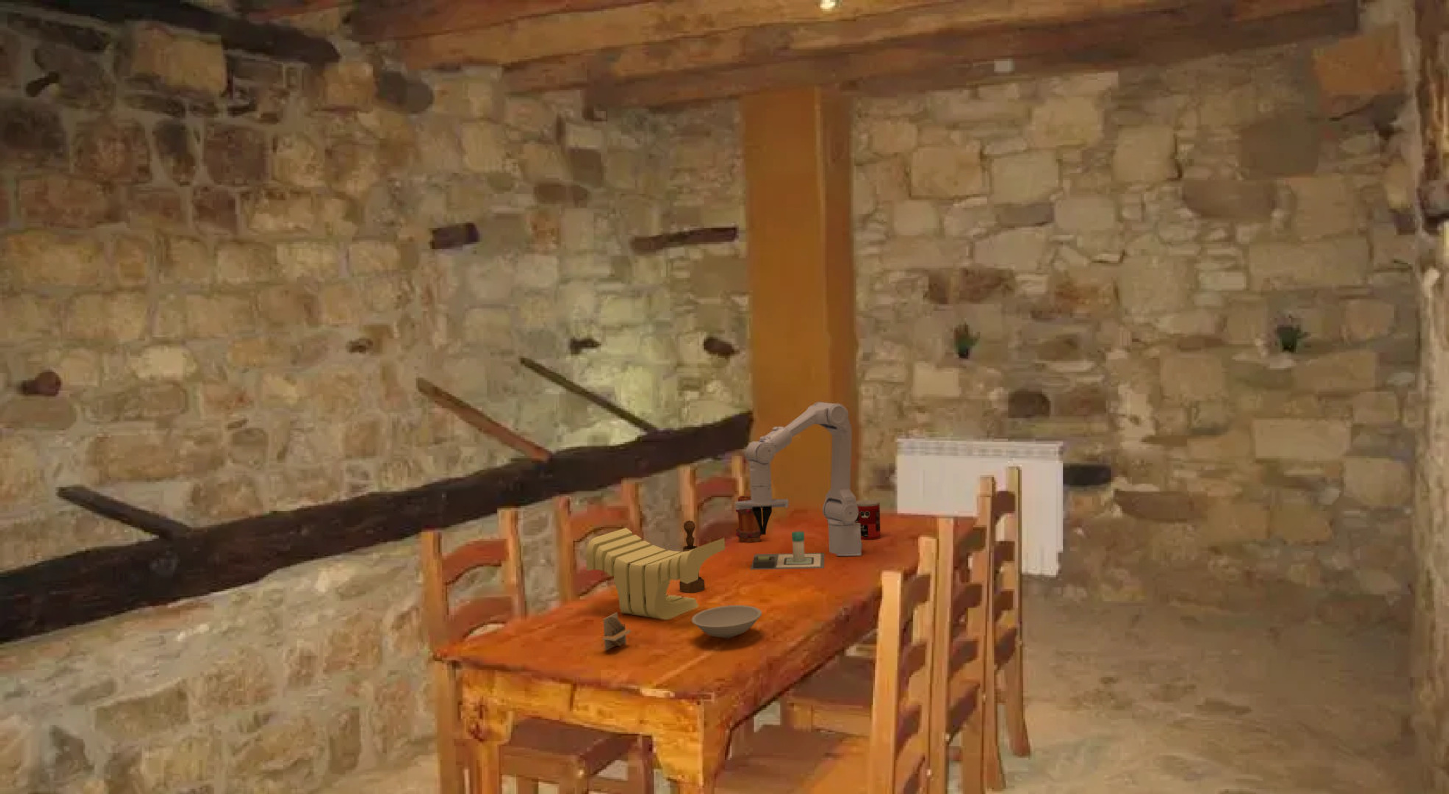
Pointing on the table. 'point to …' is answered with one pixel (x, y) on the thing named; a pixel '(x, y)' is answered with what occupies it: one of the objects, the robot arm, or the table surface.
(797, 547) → the marker
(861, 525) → the canned food
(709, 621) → the dish
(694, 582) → the brown tall knobbed piece
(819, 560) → the colouring board
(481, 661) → the table surface
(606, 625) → the architectural model
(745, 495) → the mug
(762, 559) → the button
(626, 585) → the slatted curved stool
